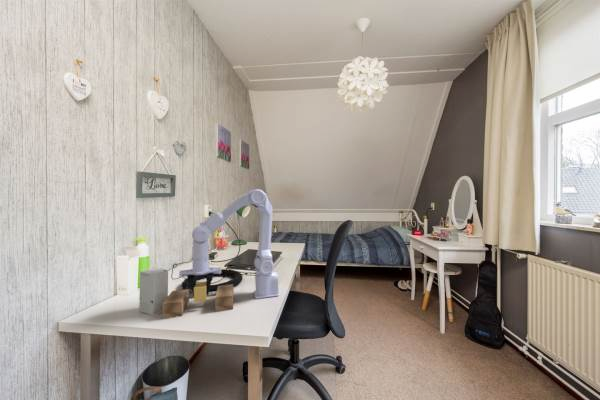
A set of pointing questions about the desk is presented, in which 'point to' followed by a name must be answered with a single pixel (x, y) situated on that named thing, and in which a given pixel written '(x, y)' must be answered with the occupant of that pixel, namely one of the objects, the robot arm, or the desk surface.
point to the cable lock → (213, 288)
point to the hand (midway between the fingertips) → (201, 294)
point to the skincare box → (153, 290)
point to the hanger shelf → (180, 298)
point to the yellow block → (200, 292)
